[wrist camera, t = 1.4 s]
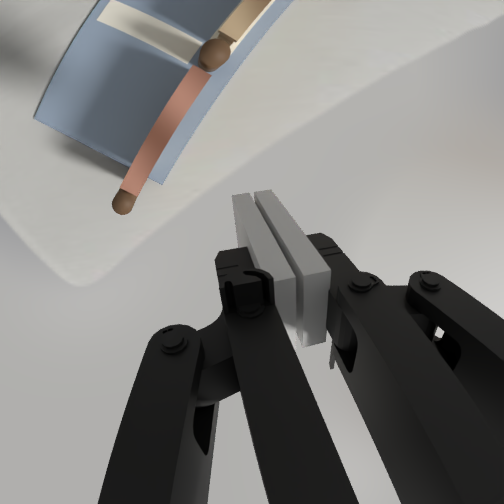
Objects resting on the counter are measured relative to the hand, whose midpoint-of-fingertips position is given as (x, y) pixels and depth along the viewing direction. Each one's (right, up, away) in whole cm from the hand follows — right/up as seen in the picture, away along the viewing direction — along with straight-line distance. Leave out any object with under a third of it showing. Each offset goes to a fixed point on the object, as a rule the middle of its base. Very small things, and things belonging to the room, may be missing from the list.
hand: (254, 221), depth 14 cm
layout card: (-8, +17, +8) cm, 20 cm away
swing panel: (-8, +9, +11) cm, 17 cm away
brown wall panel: (0, +20, +8) cm, 21 cm away
